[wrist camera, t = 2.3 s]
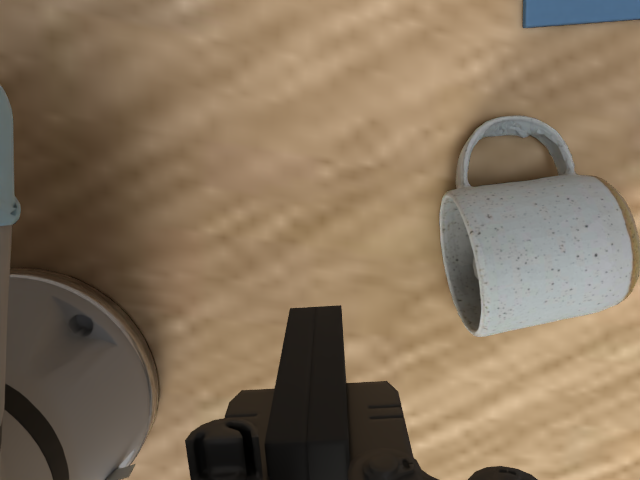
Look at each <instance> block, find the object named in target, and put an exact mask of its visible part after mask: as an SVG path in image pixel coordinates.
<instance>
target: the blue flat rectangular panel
mask: <svg viewBox="0 0 640 480" xmlns="http://www.w3.org/2000/svg"><path fill="white" fill-rule="evenodd" d="M639 19H640V0H523V28H533V27H546V26H559V25H572V24H586V23H599V22H612V21H625V20H639Z"/></svg>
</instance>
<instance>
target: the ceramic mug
mask: <svg viewBox="0 0 640 480" xmlns="http://www.w3.org/2000/svg"><path fill="white" fill-rule="evenodd" d="M503 135H517V136H519V137H522V138H524V137H528V136H529V135H531V136H533V137H535V138H536V139H538V140H539V141H540V142H541V143H542V144H543V145H545V146H546V148H547V149H548V151H549V154H550V155H551V156H552V157H553V160H554V163H555V165H556V167H557V171H558V175H559V176H552V177H545V178H540V179H535V180H528V181H519V182H508V183H501V184H491V185H482V186H477V187H472V186H471V185H470V184H469V182H468V179H467V172H468V165H469V160H470V155H471V152H472V150H473V147H474V146H475V145H476V144H477V142H478V140H481V139H482V138H484V137H491V136H503ZM439 224H440V234H441V236H440V240H441V248H442V255H443V263H444V266H445V272H446V276H447V279H448V284H449V289H450V292H451V295H452V299H453V302H454V305H455V307H456V309H457V311H458V314H459V316H460V318H461V319H462V322H463V323H464V325H465V327H466V328H467V330H468V331H469V332H470V333H471V334H473V335H474V336H478V337H481V336H489V335H493V334H498V333H502V332H506V331H510V330H516V329H521V328H525V327H530V326H535V325H540V324H545V323H549V322H553V321H557V320H562V319H567V318H572V317H578V316H583V315H588V314H592V313H596V312H599V311H602V310H604V309H607V308H609V307H612V306H614V305H617V304H619V303H620V302H622V301H623V300H624V299H626V298H627V297H628V296H629V294H630V293H631V292H632V290H633V288H634V286H635V284H636V282H637V280H638V277H639V271H640V241H639V236H638V232H637V228H636V225H635V221H634V219H633V216H632V214H631V211H630V209H629V207H628V205H627V203H626V202H625V200H624V199H623V198H622V196H621V195H620V194H619V193H618V191H617V190H616V189H615V188H614V187H612V186H611V185H610V184H609V183H607V182H606V181H605V180H603V179H601V178H599V177H596V176H587V175H578V174H576V173H575V171H574V163H573V159H572V155H571V153H570V151H569V149H568V146H567V144H566V143H565V141H564V140H563V139H562V137H561V136H560V134H559V133H558V132H557V131H556V130H555V129H553V128H552V127H550V126H549V125H547V124H546V123H544V122H542V121H540V120H538V119H535V118H531V117H526V116H504V117H498V118H495V119H492V120H489V121H486V122H485V123H484V124H482V125H481V126H480V127H478V128H477V129H476V130H475V131H474V132H473V134H472V135H471V136H470V137H469V139H468V141H467V142H466V144H465V145H464V147H463V149H462V151H461V153H460V156H459V159H458V164H457V170H456V189H454V190H450V191H448V192H446V193H445V194H444V196H443V199H442V203H441V207H440V218H439Z"/></svg>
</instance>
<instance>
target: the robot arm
mask: <svg viewBox="0 0 640 480" xmlns="http://www.w3.org/2000/svg"><path fill="white" fill-rule="evenodd" d="M20 213H21V207H20V203H19V201H18V200H17V198H16V197H15V195H14V140H13V115H12V108H11V105H10V103H9V100H8V97H7V95H6V93H5V91H4V89H3V88H2V86H1V85H0V480H119V479H123V478H127V477H129V476H130V474H131V472H132V470H133V468H134V466H135V464H134V465H130V464H131V463H132V462H133V461H134V459H135V458H136V456H137V454H138V453H139V451H140V449H141V448H142V446H143V444H144V442H145V440H146V438H147V436H148V434H149V432H150V430H151V428H152V425H153V423H154V420H155V416H156V412H157V407H158V399H159V386H158V376H157V372H156V367H155V363H154V360H153V357H152V354H151V352H150V350H149V347H148V345H147V343H146V341H145V339H144V338H143V336H142V334H141V333H140V331H139V330H138V328H137V327H136V325H135V324H134V323H133V321H132V320H131V319H130V318H129V317H128V315H127V314H126V313H125V312H124V311H123V310H122V309H121V308H120V307H119V306H118V305H116V304H115V303H114V302H113V301H112V300H110V299H109V298H108V297H107V296H105V295H104V294H102V293H101V292H99V291H98V290H96V289H95V288H93V287H91V286H89V285H88V284H86V283H83V282H81V281H79V280H77V279H75V278H72V277H69V276H67V275H64V274H60V273H56V272H53V271H48V270H42V269H34V268H10V259H11V241H12V224H15V223H16V221H17V220H18V219H19V218H20ZM185 443H186V450H187V457H188V463H189V470H190V477H191V480H438V479H436V478H434V477H432V476H429V475H428V474H427V473H425V472H424V471H422V470H421V468H420V466H419V464H418V462H417V460H416V459H414V458H413V454H412V450H411V445H410V441H409V437H408V432H407V428H406V424H405V419H404V416H403V411H402V407H401V402H400V398H399V394H398V391H397V390H396V389H395V388H394V387H393V386H392V385H390V384H389V383H388V382H387V381H380V382H361V383H346V372H345V357H344V341H343V326H342V310H341V306H324V307H307V308H290V312H289V317H288V322H287V327H286V333H285V338H284V343H283V348H282V354H281V359H280V364H279V369H278V375H277V380H276V385H275V389H261V390H243V391H241V392H240V393H239V394H238V395H237V396H236V397H235V398H233V399H232V400H231V401H230V402H229V405H228V408H227V411H226V414H225V418H224V419H219V420H214V421H211V422H209V423H206V424H203V425H201V426H200V427H198V428H197V429H195V430H194V431H192V432H191V433H190V435H189V436H188V437H187V439H186V440H185ZM468 480H537V479H536V478H535V477H533V476H532V475H530V474H528V473H526V472H523V471H521V470H519V469H515V468H509V467H503V466H497V467H486V468H484V469H481V470H479V471H476V472H475V473H474V474H473V475H472V476H471V477H470V478H469V479H468Z"/></svg>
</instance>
